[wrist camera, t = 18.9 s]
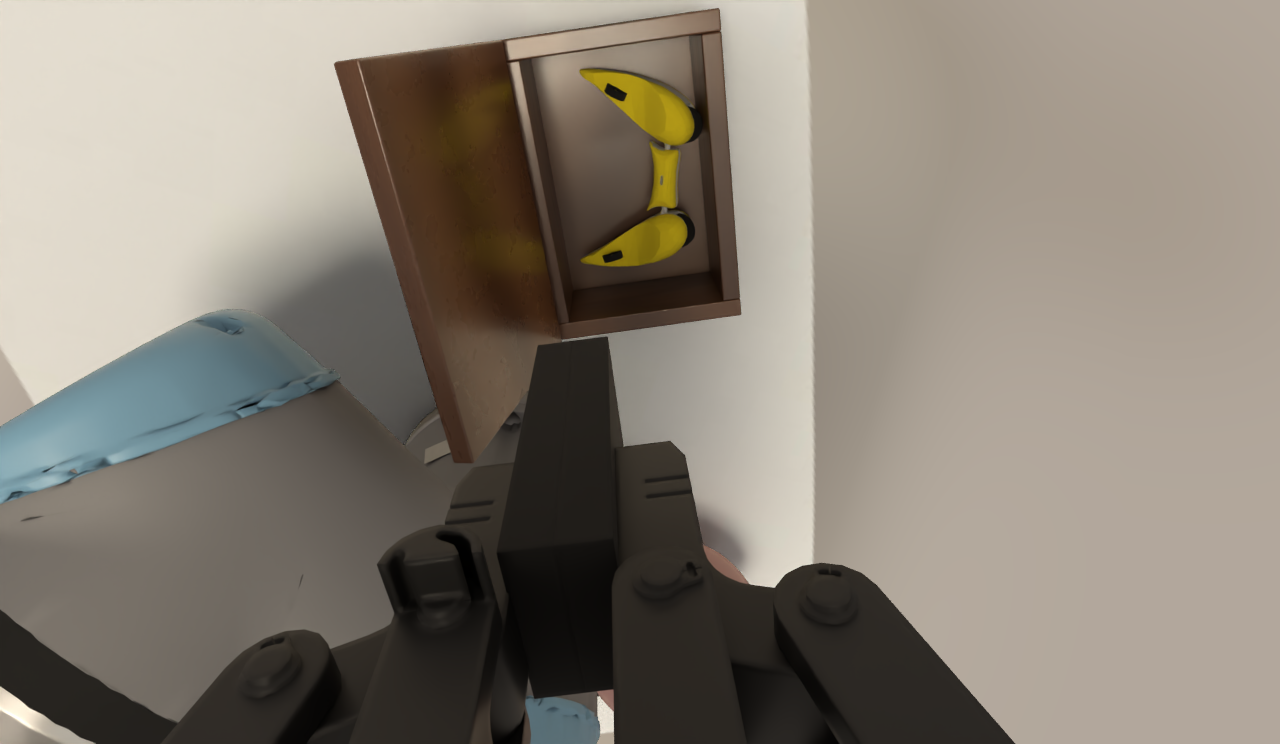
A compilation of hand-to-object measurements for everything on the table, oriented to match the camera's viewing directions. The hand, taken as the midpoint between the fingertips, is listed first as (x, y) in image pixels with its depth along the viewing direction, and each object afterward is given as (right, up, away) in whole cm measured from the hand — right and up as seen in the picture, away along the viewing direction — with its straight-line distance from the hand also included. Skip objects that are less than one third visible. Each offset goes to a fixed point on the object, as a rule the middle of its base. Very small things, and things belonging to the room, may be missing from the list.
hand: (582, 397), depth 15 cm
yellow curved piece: (+1, +12, +22) cm, 25 cm away
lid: (-5, +6, +13) cm, 15 cm away
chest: (0, +12, +23) cm, 26 cm away
